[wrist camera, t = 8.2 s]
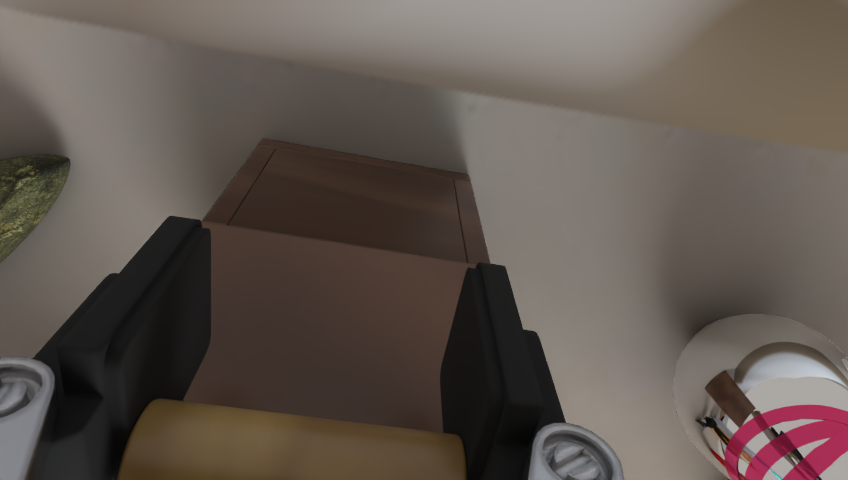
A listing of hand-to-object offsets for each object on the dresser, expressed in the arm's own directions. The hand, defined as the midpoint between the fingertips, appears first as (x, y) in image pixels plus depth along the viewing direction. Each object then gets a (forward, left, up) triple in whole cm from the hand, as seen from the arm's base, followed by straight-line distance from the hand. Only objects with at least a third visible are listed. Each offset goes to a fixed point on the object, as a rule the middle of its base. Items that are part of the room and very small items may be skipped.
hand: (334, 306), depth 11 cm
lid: (-2, +4, -1) cm, 4 cm away
